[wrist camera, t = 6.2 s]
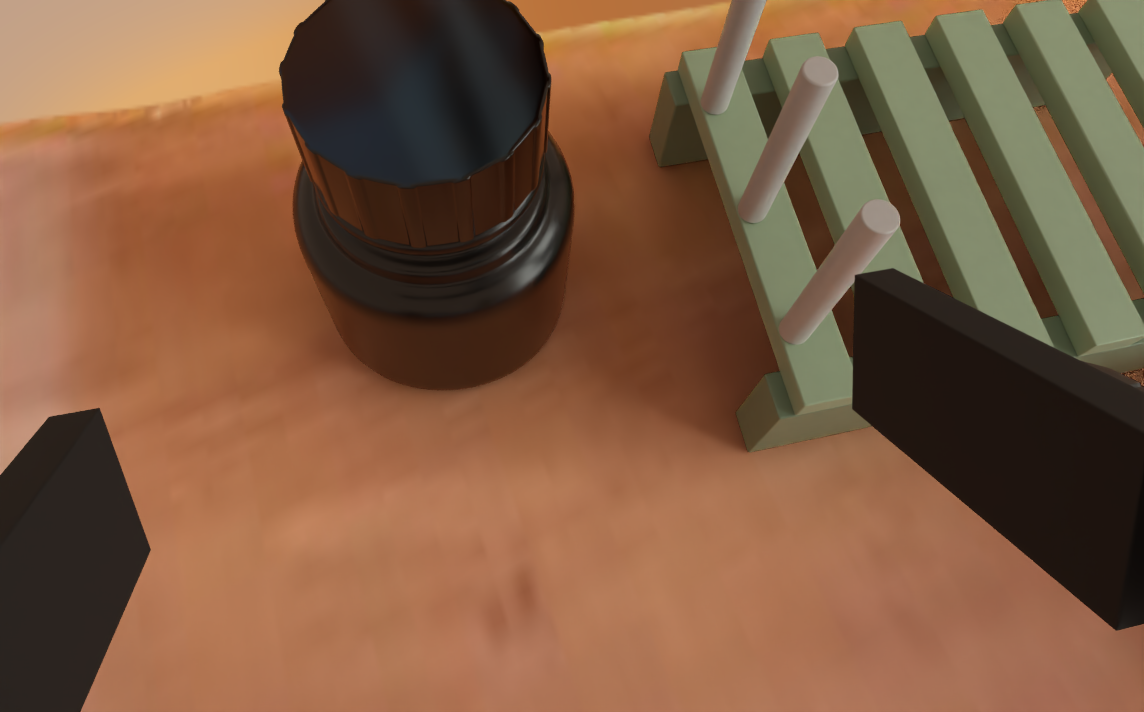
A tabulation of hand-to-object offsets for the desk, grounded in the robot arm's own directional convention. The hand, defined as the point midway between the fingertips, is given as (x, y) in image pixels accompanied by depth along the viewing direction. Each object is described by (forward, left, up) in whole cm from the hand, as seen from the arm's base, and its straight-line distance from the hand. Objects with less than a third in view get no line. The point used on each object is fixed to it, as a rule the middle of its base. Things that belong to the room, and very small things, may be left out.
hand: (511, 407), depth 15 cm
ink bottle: (0, -10, -16) cm, 19 cm away
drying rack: (-19, -9, -15) cm, 26 cm away
